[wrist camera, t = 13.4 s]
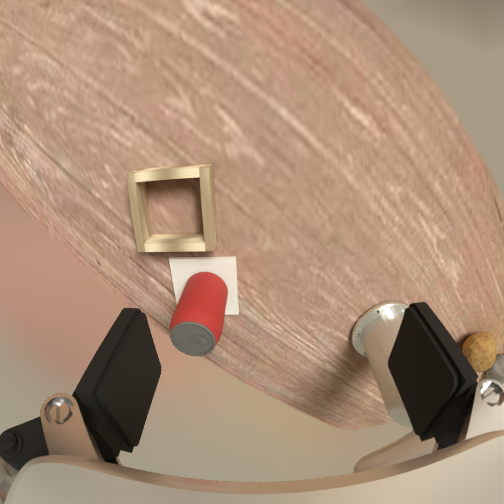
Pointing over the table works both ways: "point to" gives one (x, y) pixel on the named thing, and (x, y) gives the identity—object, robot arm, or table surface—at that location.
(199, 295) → the beer can
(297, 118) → the table surface
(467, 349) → the potato
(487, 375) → the stone
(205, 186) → the frame
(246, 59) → the table surface
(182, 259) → the coaster
